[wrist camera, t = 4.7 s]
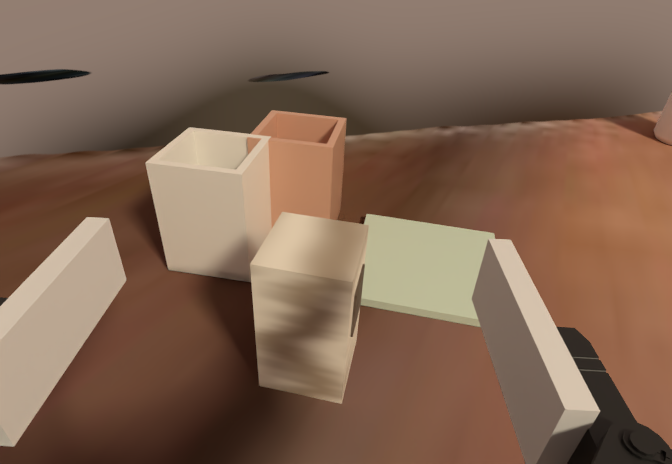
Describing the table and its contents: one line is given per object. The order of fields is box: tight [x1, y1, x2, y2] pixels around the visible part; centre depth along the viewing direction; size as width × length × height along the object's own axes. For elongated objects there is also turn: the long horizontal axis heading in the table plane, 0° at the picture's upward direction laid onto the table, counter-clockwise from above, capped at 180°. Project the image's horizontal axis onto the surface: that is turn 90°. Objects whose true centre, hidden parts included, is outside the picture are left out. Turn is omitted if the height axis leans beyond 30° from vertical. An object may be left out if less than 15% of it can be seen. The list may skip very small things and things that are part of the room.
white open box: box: [146, 127, 272, 282], centre depth 41 cm, size 8×8×11 cm
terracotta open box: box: [247, 110, 346, 228], centre depth 46 cm, size 8×8×11 cm
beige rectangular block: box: [250, 212, 369, 404], centre depth 30 cm, size 6×6×11 cm
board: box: [361, 214, 495, 327], centre depth 43 cm, size 14×14×1 cm
